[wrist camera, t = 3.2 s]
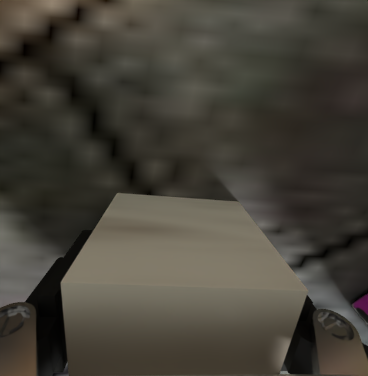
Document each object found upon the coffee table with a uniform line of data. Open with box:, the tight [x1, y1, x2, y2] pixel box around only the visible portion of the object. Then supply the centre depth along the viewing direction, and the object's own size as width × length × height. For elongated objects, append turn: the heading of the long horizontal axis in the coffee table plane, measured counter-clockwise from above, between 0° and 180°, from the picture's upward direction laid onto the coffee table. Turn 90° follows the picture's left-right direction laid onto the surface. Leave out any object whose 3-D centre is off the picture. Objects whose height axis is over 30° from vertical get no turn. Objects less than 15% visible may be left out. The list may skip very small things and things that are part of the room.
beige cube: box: [61, 193, 308, 376], centre depth 9 cm, size 6×6×6 cm
